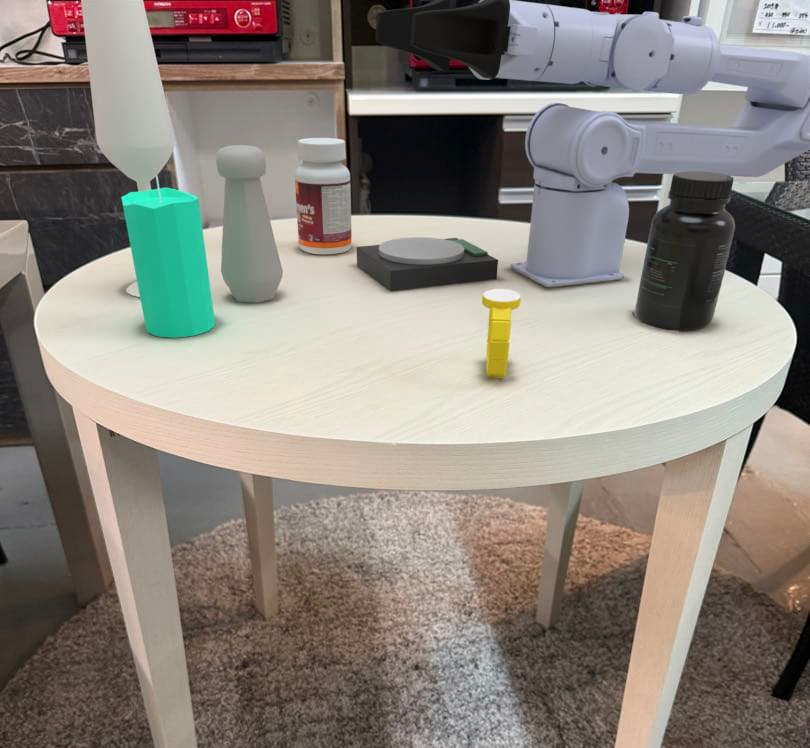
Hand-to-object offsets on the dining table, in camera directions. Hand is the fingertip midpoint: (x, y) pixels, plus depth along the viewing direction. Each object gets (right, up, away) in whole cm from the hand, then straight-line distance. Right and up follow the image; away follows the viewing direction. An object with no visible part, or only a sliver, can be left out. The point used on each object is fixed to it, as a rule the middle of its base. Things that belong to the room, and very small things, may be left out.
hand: (394, 28), depth 62 cm
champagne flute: (-23, -17, +13) cm, 32 cm away
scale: (+3, -13, +19) cm, 23 cm away
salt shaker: (-14, -18, +11) cm, 26 cm away
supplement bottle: (+25, -22, +7) cm, 34 cm away
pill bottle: (-8, -8, +27) cm, 29 cm away
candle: (-19, -23, +4) cm, 30 cm away
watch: (+8, -29, -3) cm, 30 cm away
